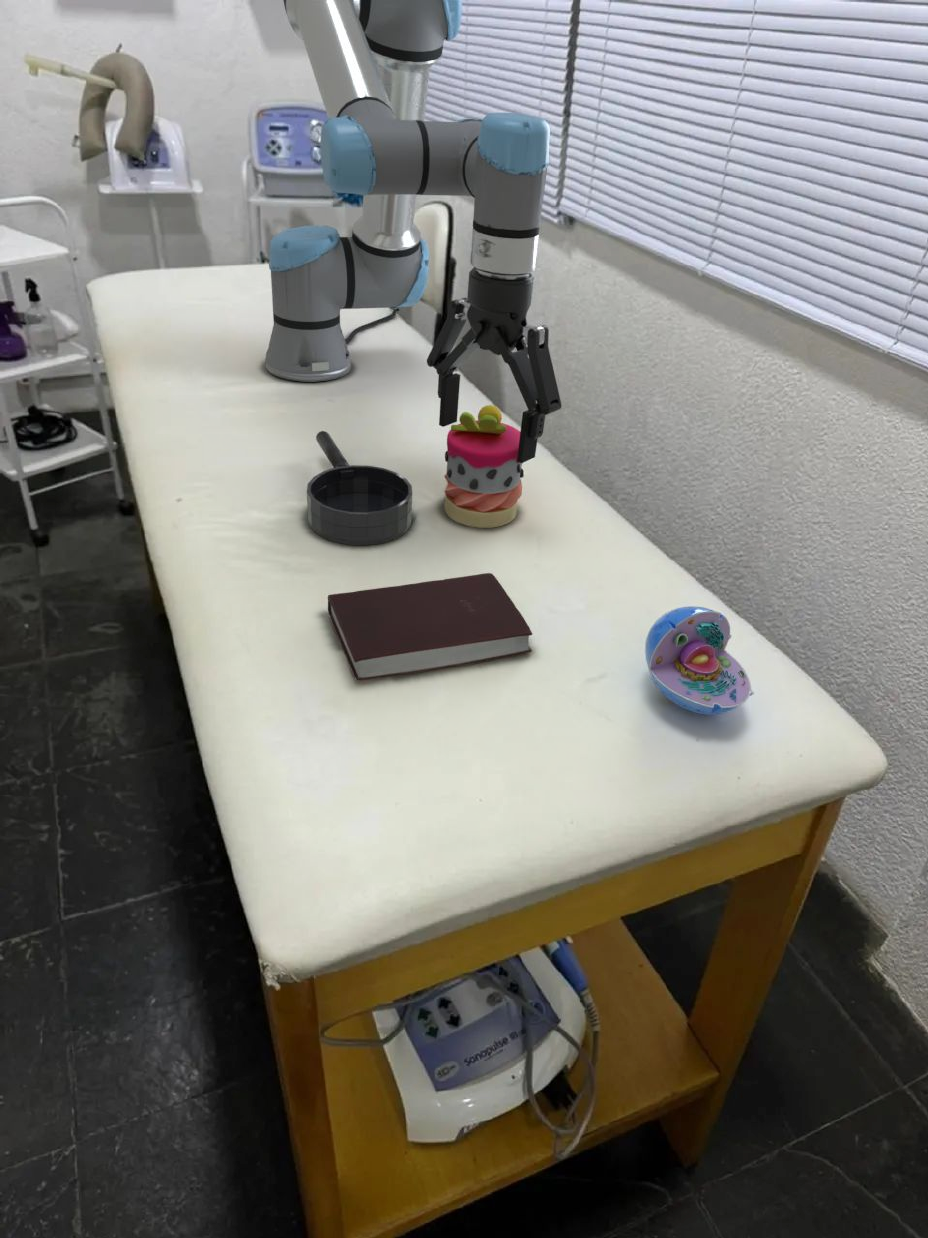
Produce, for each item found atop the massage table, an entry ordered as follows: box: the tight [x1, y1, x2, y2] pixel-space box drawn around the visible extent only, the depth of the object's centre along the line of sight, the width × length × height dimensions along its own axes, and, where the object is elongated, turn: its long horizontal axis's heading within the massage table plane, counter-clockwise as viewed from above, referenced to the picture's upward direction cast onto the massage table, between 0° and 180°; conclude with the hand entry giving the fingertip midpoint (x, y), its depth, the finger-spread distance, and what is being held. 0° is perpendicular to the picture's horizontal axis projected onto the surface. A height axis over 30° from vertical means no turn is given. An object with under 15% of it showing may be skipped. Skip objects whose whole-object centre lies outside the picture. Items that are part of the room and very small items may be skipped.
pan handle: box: [315, 430, 354, 479], centre depth 119 cm, size 13×2×2 cm, turn 23°
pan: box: [306, 464, 413, 546], centre depth 110 cm, size 13×13×4 cm
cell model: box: [644, 605, 755, 716], centre depth 84 cm, size 10×12×10 cm
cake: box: [443, 404, 525, 529], centre depth 112 cm, size 10×10×15 cm
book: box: [327, 572, 533, 681], centre depth 91 cm, size 12×19×3 cm, turn 110°
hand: (485, 441), depth 110 cm, fingers open, 13 cm apart
